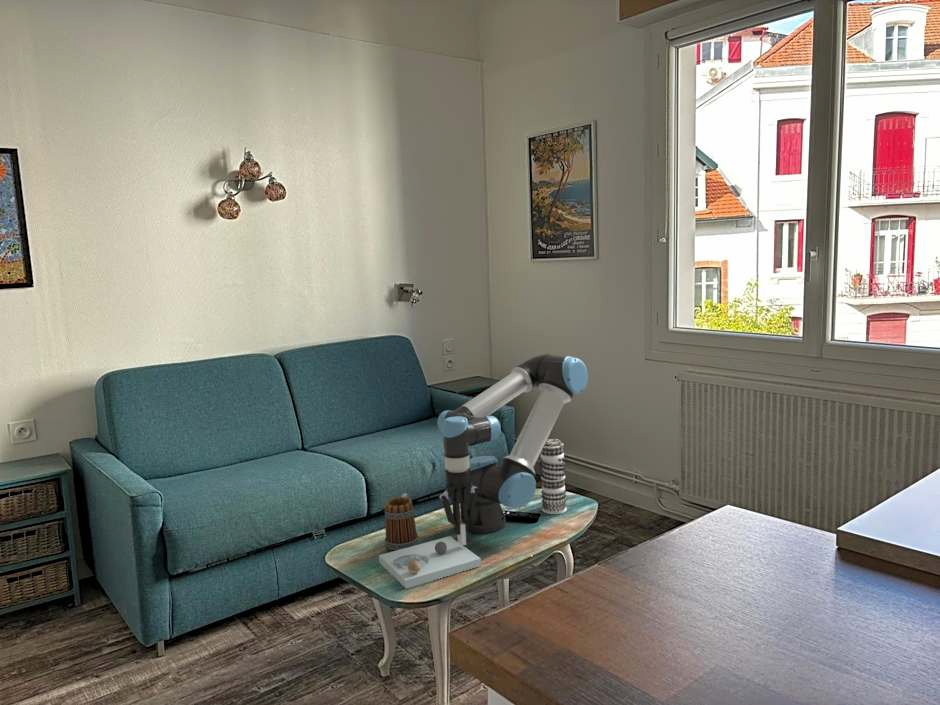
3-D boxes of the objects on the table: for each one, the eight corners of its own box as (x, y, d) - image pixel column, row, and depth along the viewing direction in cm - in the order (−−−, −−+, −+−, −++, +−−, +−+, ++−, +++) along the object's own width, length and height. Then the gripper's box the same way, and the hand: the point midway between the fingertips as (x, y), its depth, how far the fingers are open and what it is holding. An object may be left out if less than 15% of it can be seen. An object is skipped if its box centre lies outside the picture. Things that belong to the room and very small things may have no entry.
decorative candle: (561, 503, 258) (558, 435, 255) (571, 512, 250) (569, 442, 246) (537, 507, 256) (534, 438, 252) (547, 516, 247) (544, 445, 243)
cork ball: (417, 568, 207) (416, 557, 207) (422, 573, 204) (422, 561, 203) (406, 572, 205) (405, 560, 205) (411, 577, 202) (410, 564, 202)
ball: (443, 549, 219) (443, 538, 218) (449, 554, 216) (448, 542, 215) (433, 552, 217) (432, 541, 217) (438, 557, 214) (437, 545, 214)
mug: (413, 554, 223) (410, 508, 221) (380, 553, 225) (377, 507, 223) (426, 534, 238) (423, 490, 236) (395, 533, 240) (392, 489, 238)
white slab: (450, 543, 229) (449, 536, 229) (481, 566, 212) (480, 558, 212) (379, 563, 218) (378, 555, 218) (406, 588, 201) (405, 580, 200)
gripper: (470, 461, 222) (474, 534, 226) (432, 469, 216) (437, 544, 220) (482, 467, 216) (486, 542, 219) (443, 476, 210) (448, 553, 213)
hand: (462, 543), depth 220 cm, fingers closed
